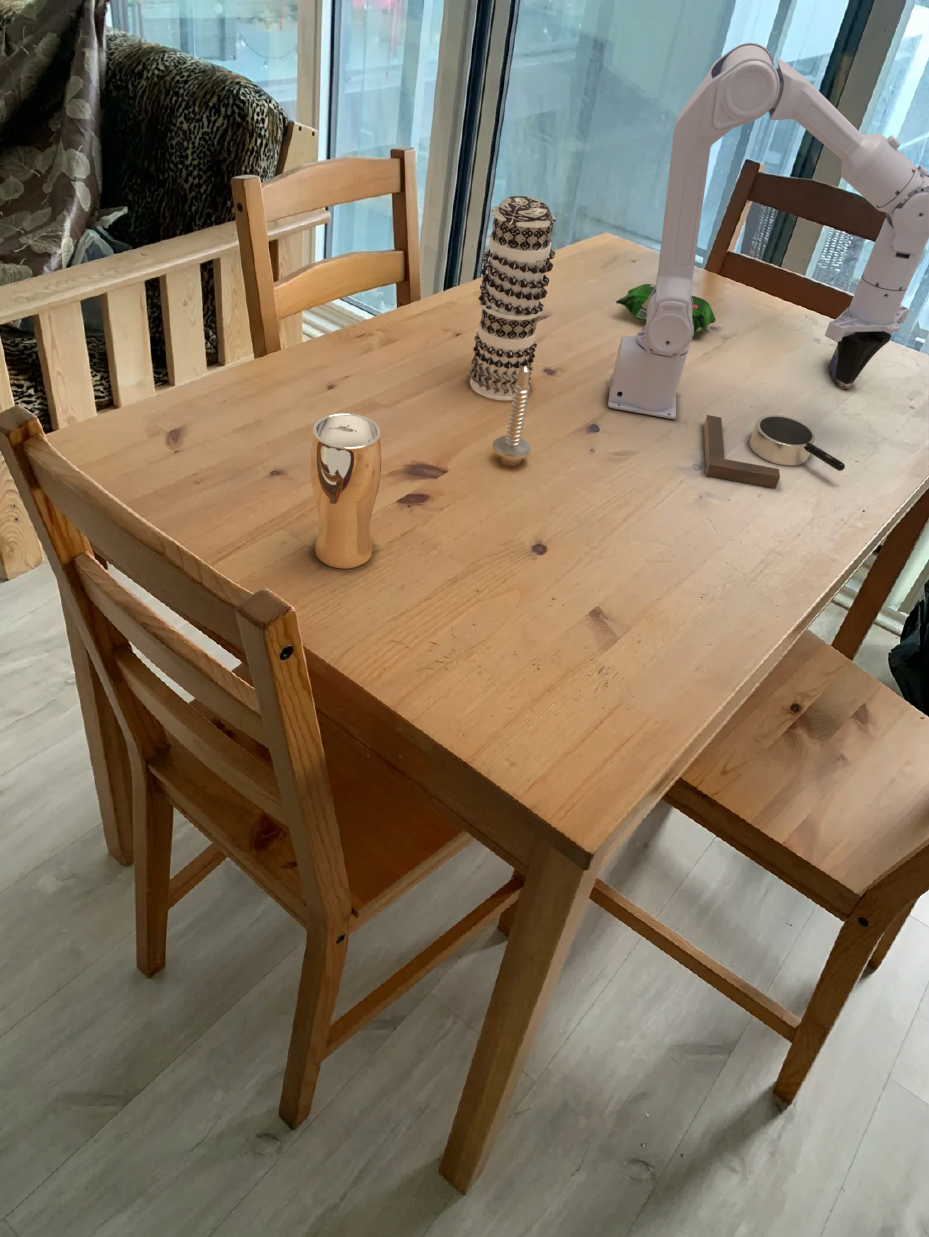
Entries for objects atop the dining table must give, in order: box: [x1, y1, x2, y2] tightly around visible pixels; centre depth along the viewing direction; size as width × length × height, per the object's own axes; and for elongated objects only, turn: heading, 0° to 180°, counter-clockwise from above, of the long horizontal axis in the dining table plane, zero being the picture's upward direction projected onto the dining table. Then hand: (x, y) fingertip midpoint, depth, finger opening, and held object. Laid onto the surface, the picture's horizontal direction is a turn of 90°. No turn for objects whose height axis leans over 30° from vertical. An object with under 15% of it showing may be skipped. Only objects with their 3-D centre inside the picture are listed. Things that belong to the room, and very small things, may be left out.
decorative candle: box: [469, 195, 557, 401], centre depth 123 cm, size 9×9×25 cm
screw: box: [492, 366, 532, 467], centre depth 113 cm, size 13×5×5 cm
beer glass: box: [310, 412, 382, 570], centre depth 95 cm, size 7×7×15 cm
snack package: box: [615, 283, 717, 336], centre depth 151 cm, size 7×16×5 cm, turn 64°
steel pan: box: [749, 414, 846, 472], centre depth 124 cm, size 14×8×3 cm, turn 35°
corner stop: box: [703, 414, 781, 489], centre depth 123 cm, size 9×13×2 cm
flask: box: [827, 344, 855, 390], centre depth 142 cm, size 9×3×11 cm, turn 172°
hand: (843, 380), depth 125 cm, fingers closed
